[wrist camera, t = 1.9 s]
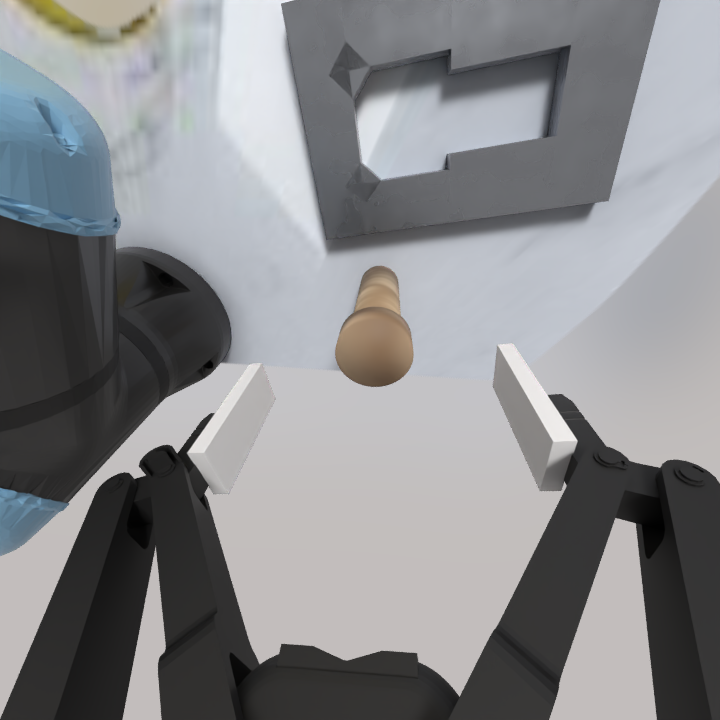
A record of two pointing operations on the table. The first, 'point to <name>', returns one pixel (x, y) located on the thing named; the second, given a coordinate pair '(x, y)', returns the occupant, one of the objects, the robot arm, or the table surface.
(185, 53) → the table surface
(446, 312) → the table surface
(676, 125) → the table surface
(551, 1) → the keyhole plate
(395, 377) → the peg
